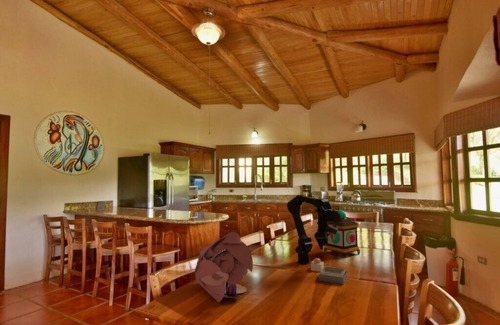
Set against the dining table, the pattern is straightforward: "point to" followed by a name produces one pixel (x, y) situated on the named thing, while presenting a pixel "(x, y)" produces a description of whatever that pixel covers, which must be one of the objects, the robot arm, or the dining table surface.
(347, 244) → the decorative lantern
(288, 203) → the robot arm
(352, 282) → the dining table surface
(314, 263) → the beige cube with knob
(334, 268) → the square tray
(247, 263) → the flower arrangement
